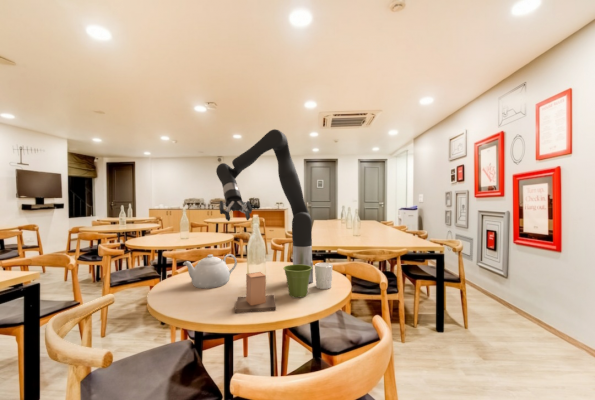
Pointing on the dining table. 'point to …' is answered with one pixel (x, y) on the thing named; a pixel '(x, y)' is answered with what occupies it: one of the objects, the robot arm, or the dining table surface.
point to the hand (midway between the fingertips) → (238, 219)
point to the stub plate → (246, 307)
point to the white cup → (323, 275)
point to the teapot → (210, 272)
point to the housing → (255, 288)
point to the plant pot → (297, 279)
